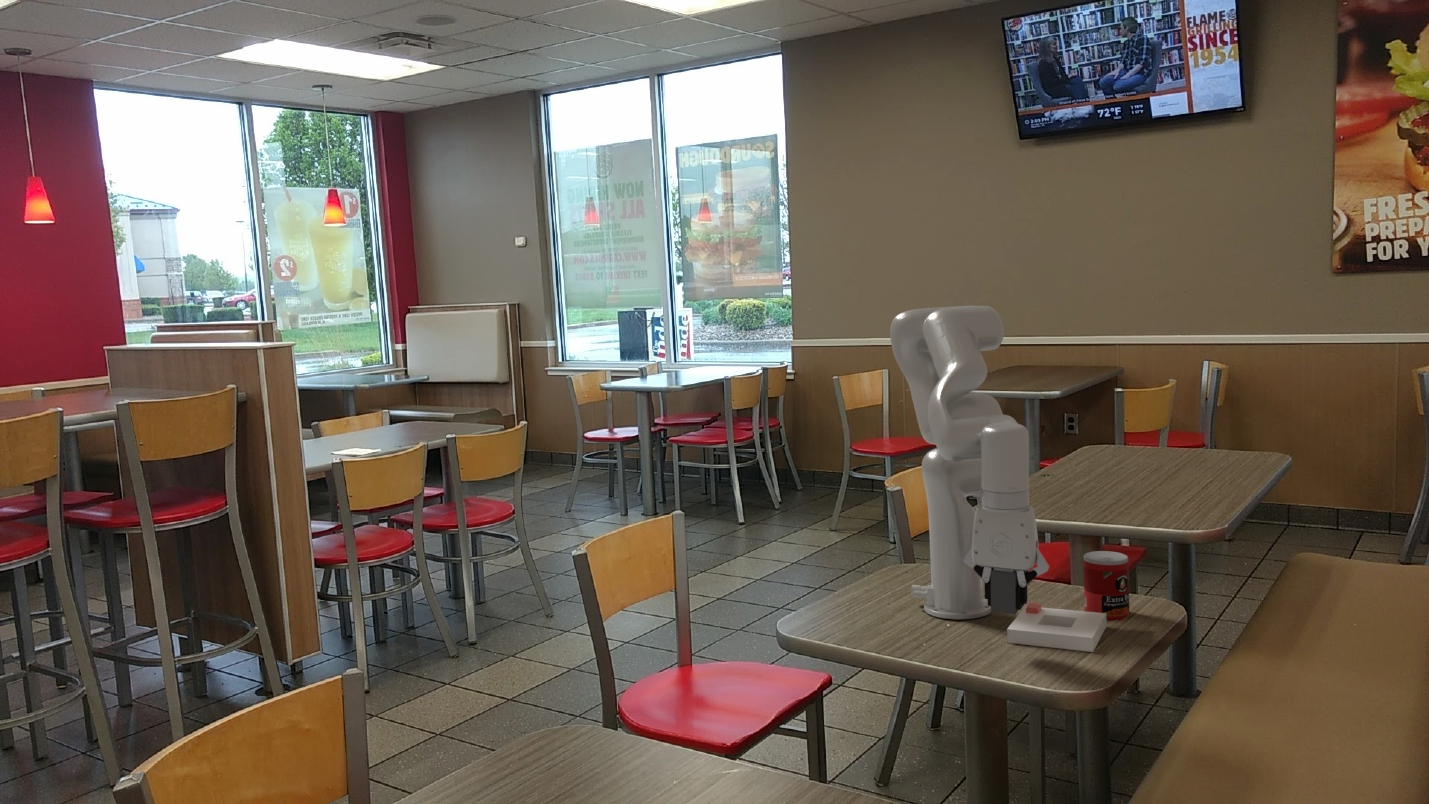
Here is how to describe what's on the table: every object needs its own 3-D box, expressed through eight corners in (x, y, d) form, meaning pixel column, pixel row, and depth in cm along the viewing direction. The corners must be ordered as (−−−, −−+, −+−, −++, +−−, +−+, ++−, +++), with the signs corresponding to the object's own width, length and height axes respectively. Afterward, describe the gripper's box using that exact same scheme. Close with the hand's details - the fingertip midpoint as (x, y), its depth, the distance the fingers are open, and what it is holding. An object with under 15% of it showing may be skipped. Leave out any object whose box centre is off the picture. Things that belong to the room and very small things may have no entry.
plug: (990, 611, 172) (990, 566, 171) (997, 603, 175) (996, 559, 174) (1015, 614, 170) (1015, 569, 169) (1021, 606, 174) (1020, 561, 172)
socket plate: (1007, 642, 178) (1006, 623, 178) (1026, 618, 190) (1025, 600, 190) (1092, 652, 171) (1092, 632, 171) (1106, 626, 183) (1106, 607, 183)
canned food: (1107, 624, 185) (1105, 563, 184) (1075, 612, 192) (1073, 554, 191) (1139, 616, 188) (1138, 557, 187) (1106, 605, 195) (1105, 548, 194)
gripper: (948, 500, 171) (950, 606, 173) (1053, 508, 162) (1053, 619, 165) (961, 489, 177) (962, 592, 180) (1062, 497, 169) (1062, 604, 172)
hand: (1006, 604), depth 173 cm, fingers closed on plug, 4 cm apart
